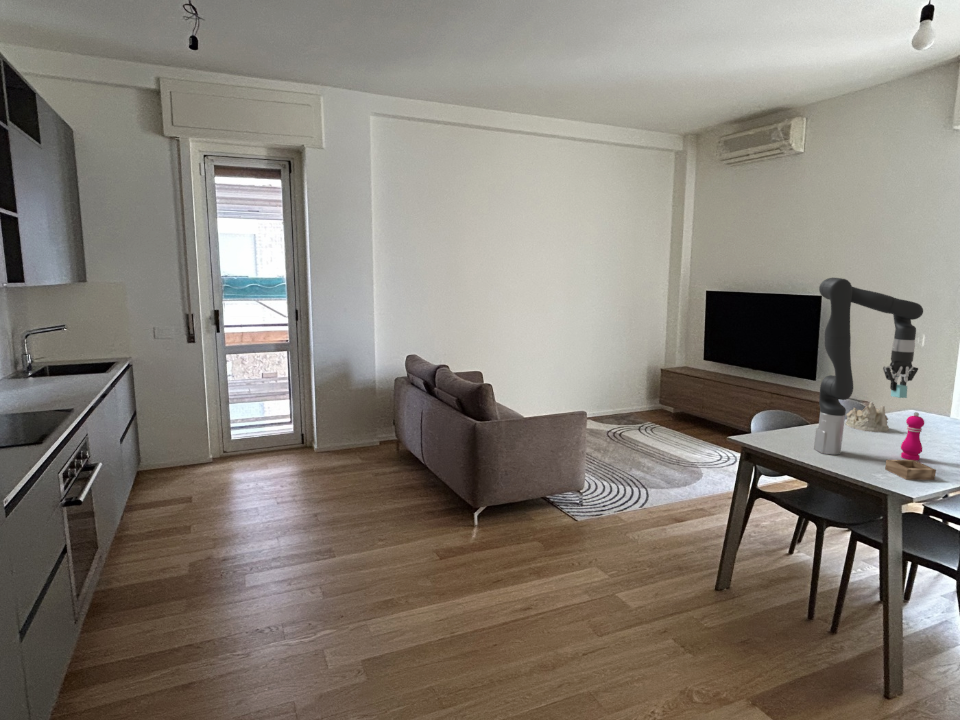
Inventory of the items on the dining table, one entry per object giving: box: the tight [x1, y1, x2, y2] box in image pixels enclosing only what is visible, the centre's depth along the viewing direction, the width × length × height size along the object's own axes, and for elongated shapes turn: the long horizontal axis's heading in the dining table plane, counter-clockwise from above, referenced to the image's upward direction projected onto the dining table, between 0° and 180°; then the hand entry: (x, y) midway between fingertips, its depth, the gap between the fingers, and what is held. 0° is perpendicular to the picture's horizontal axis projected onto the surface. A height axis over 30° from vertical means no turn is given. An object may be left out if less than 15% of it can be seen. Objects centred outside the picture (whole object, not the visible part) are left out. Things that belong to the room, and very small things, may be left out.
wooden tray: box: [885, 459, 937, 481], centre depth 220 cm, size 11×11×4 cm
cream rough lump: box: [845, 401, 890, 433], centre depth 285 cm, size 16×16×15 cm
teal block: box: [890, 383, 908, 399], centre depth 239 cm, size 5×3×5 cm, turn 0°
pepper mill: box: [900, 411, 925, 462], centre depth 238 cm, size 7×7×20 cm
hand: (897, 390), depth 239 cm, fingers closed on teal block, 3 cm apart
